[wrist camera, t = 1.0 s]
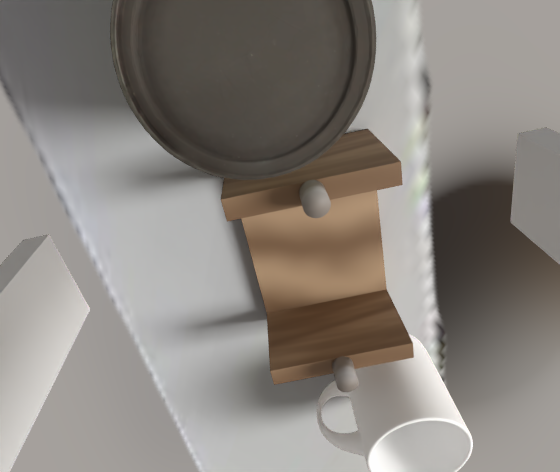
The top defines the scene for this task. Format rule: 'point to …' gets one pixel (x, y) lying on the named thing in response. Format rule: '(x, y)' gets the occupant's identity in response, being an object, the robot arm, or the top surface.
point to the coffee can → (244, 78)
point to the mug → (402, 418)
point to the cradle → (323, 261)
